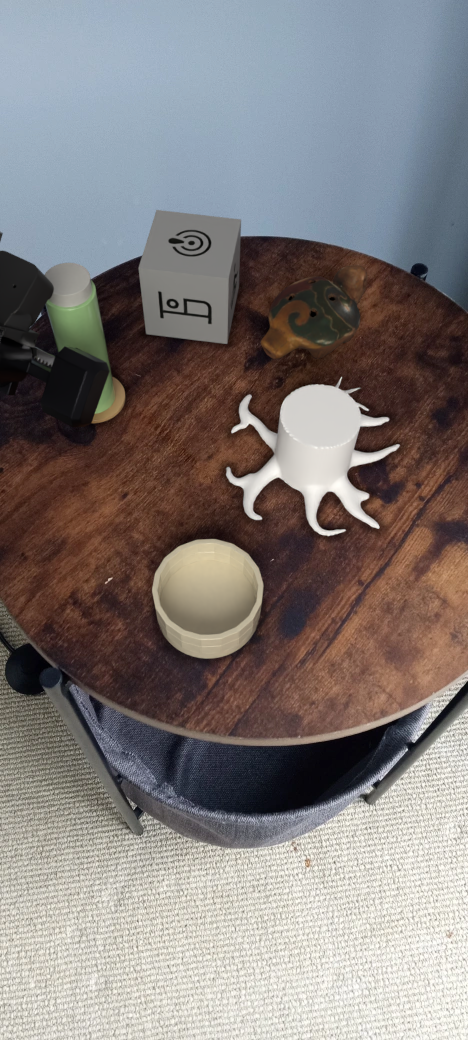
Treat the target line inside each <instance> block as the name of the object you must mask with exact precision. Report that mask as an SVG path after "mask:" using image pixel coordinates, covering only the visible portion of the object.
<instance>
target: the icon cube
mask: <svg viewBox="0 0 468 1040" xmlns="http://www.w3.org/2000/svg"><path fill="white" fill-rule="evenodd" d="M153 216H154V217H153V220H152V223H151V226H150V229H149V233H148V236H147V239H146V242H145V245H144V249H143V252H142V256H141V258H140V262H139V264H138V273H139V274H138V275H139V276H138V277H139V283H140V292H141V293H140V294H141V302H142V310H143V319H144V328H145V334H146V335H149V336H150V335H151V336H159V337H167V338H174V339H183V340H192V341H199V342H200V341H201V342H208V343H215V344H223V345H228V342H229V339H230V333H231V328H232V323H233V318H234V314H235V310H236V309H235V308H236V304H237V299H238V295H239V294H238V293H239V288H240V269H241V267H240V265H241V237H242V235H241V234H242V218H241V219H240V218H231V217H223V216H222V217H221V216H214V215H206V214H205V215H204V214H197V213H189V212H181V211H179V212H178V211H171V210H161V209H155V213H154V215H153Z"/></svg>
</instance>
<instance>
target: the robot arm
mask: <svg viewBox="0 0 468 1040" xmlns="http://www.w3.org/2000/svg"><path fill="white" fill-rule="evenodd" d="M3 234H4V233H3V232H2V231H0V242H1V241H2V238H3ZM53 292H54V286H53V284H52V283H51V282H50V281H49V280H48V278H47V277H46V276H45V273H43V272H42V270H40V269H39V268H38V267H37V265H35V263H33V262H30V261H28V260H26V259H24V258H22V257H20V256H17V255H15V254H13V253H11V252H9V251H6V250H0V393H3V394H4V395H6V396H16V392H17V390H18V386H19V384H20V382H23V381H24V380H25V378H26V377H27V375H30V376H32V377H34V378H36V379H38V380H40V381H42V382H43V383H45V386H44V390H43V391H42V396H41V399H40V402H39V403H40V405H41V406H40V407H41V410H42V412H43V413H45V414H46V415H48V416H50V417H53V418H54V419H56V420H58V421H59V422H62V423H64V424H66V425H67V426H69V427H71V428H85V427H87V426H90V425H91V424H93V423H92V420H93V417H94V415H95V412H96V409H97V406H98V403H99V400H100V397H101V395H102V392H103V389H104V386H105V383H106V380H107V377H108V375H109V372H110V370H109V367H108V365H107V362H105V361H103V360H101V359H99V358H97V357H95V356H92V355H90V354H88V353H86V352H84V351H82V350H80V349H78V348H73V347H67V346H64V347H63V348H62V349H61V350H60V351H59V352H58V351H57V354H55V355H53V354H52V353H49V352H47V351H45V350H43V349H41V348H39V347H37V346H36V345H37V342H38V338H39V335H40V333H38V332H37V331H34V330H33V329H31V327H33V326H34V324H35V323H36V322H37V320H38V319H39V316H40V315H41V314H42V312H43V310H44V307H46V305H45V304H46V302H47V301H48V300H49V299H50V298H51V296H52V294H53Z"/></svg>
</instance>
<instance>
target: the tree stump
mask: <svg viewBox="0 0 468 1040" xmlns="http://www.w3.org/2000/svg"><path fill="white" fill-rule="evenodd" d="M342 379H343V376H341V377H340V379H339V380H338V382H337V383H336V384H335V386H333V385H327V384H324V383H323V384H318V383H317V384H316V383H315V384H308V385H305V386H301V387H299V388H296V389H295V390H293V391H291V392H290V394H288V395H287V396H286V397H285V398H284V400H283V402H282V404H281V405H280V406H281V407H280V410H279V419H278V426H277V432H274V431H271V430H270V429H269V428H268V427H267V426H266V425H265V424H264V423H263V422H262V421H261V419H259V418H258V417H257V416H255V415H254V414H252V412H251V411H250V409H249V404H250V401H251V400H252V398H253V397H252V394H250V393H249V394H247V395H246V396H245V397H244V398H242V400H241V402H239V407H238V414H239V419H240V423H239V424H236V425H235V426H233V427H232V429H231V431H230V432H231V434H234V433H236V432H238V431H240V430H243V429H246V428H247V427H249V425H251V426H253V427H254V429H255V430H256V431H257V432H258V435H259V436H260V438H261V439H262V441H264V443H265V444H266V445H268V447H269V448H270V449H271V451H272V453H273V454H272V456H271V458H270V459H269V460H268V461H267V462H266V463H265V464H264V465H263V467H261V468H260V469H258V471H256V472H254V473H248V474H246V475H244V476H242V477H236V476H234V474H233V473H232V468H230V466H227V467H226V468H225V471H226V473H225V476H226V478H227V479H228V483H230V484H232V485H234V486H236V487H239V488H242V490H243V499H242V506H243V509H244V513H245V514H246V515H247V516H248V517H249V518H250V519H252V520H254V521H262V520H263V517H262V516H261V515H259V514H258V513H255V511H254V503H255V501H256V499H257V497H258V496H259V495H260V493H261V491H262V490H263V489H264V488H265V487H266V486H267V485H268V484H270V483H271V482H272V481H274V480H275V479H278V478H279V479H280V480H282V481H283V482H284V483H286V484H287V485H288V486H290V487H291V488H292V489H294V490H297V491H299V492H300V493H301V494H302V496H303V499H304V505H305V506H304V508H305V517H306V520H307V522H308V525H309V526H310V527H311V528H312V530H313V531H314V532H316V533H318V534H319V535H322V536H327V537H330V536H335V535H338V534H341V533H345V532H346V531H347V530H346V529H345V528H341V529H334V530H327V529H324V528H322V527H321V526H320V525H319V522H318V521H317V513H318V509H319V507H320V504H321V502H322V500H323V497H324V496H325V495H326V494H327V493H333V494H334V495H336V497H338V499H339V500H340V502H341V504H342V505H343V507H344V508H345V510H346V511H347V512H348V513H349V514H350V515H352V516H353V517H354V518H355V519H358V520H359V521H361V522H363V523H365V524H367V525H369V526H370V527H371V528H375V529H378V530H379V529H380V525H379V523H378V521H376V520H375V519H374V518H373V517H371V516H369V515H368V514H367V513H366V512H365V511H364V509H363V508H362V505H361V503H362V502H363V501H367V500H368V499H370V494H369V493H368V492H366V491H363V490H360V489H358V488H356V487H355V486H354V485H353V484H352V483H351V482H350V479H349V477H348V472H349V470H350V469H351V468H353V467H358V466H360V465H366V464H370V463H374V462H377V461H380V460H381V459H384V458H386V456H388V455H389V454H391V453H393V452H395V451H397V450H398V449H399V448H400V447H401V445H400V444H399V443H397V444H393V445H391V446H388V447H386V448H383V449H381V450H378V451H373V452H364V451H360V450H356V449H355V447H356V443H357V439H358V436H359V432H360V429H361V428H362V427H376V426H382V425H383V424H385V423H388V422H389V421H390V417H388V416H381V417H372V416H369V415H365V414H363V413H361V410H360V409H362V410H364V411H367V412H369V411H370V409H369V408H367V407H366V406H365V405H363V404H361V403H359V402H356V400H355V399H353V397H352V396H351V395H350V394H352V393H353V392H355V391H358V390H360V389H361V387H356V388H350V389H347V390H342V389H341V388H339V387H340V385H341V382H342Z"/></svg>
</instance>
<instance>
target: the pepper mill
mask: <svg viewBox="0 0 468 1040" xmlns="http://www.w3.org/2000/svg"><path fill="white" fill-rule="evenodd" d="M44 275H45V276H46V277H47V278H48V280H49V281H50V282H51V283H52V284H53V286H54V292H53V294H52V296H51V298H50V299H49V300H48V301H47V302H46V304H45V309H46V312H47V316H48V320H49V324H50V326H51V331H52V334H53V338H54V343H55V346H56V349H57V353H58V352H59V351H60V350H61V349H62V348H63V347H64V346H67V347H73V348H78V349H80V350H82V351H84V352H86V353H88V354H90V355H92V356H95V357H97V358H99V359H101V360H103V361H105V362H107V365H108V367H109V370H110V372H109V375H108V377H107V380H106V383H105V386H104V389H103V392H102V395H101V397H100V400H99V403H98V406H97V409H96V412H95V414H97V413H101V412H103V411H105V410H107V409H108V408H110V407H111V405H112V404H113V403H114V401H115V389H114V384H113V378H112V377H113V373H112V368H111V362H110V357H109V353H108V347H107V341H106V337H105V331H104V325H103V319H102V315H101V310H100V309H101V308H100V304H99V298H98V293H97V289H96V288H97V287H96V285H95V283H94V282H93V280H92V279H91V278H92V277H91V274H90V271H89V270H88V269H87V268H86V267H85V266H84V265H81V264H79V263H76V262H62V263H58V264H55V265H54V266H52V267H50V268H48V269H47V270H46V271H45V273H44Z"/></svg>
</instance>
